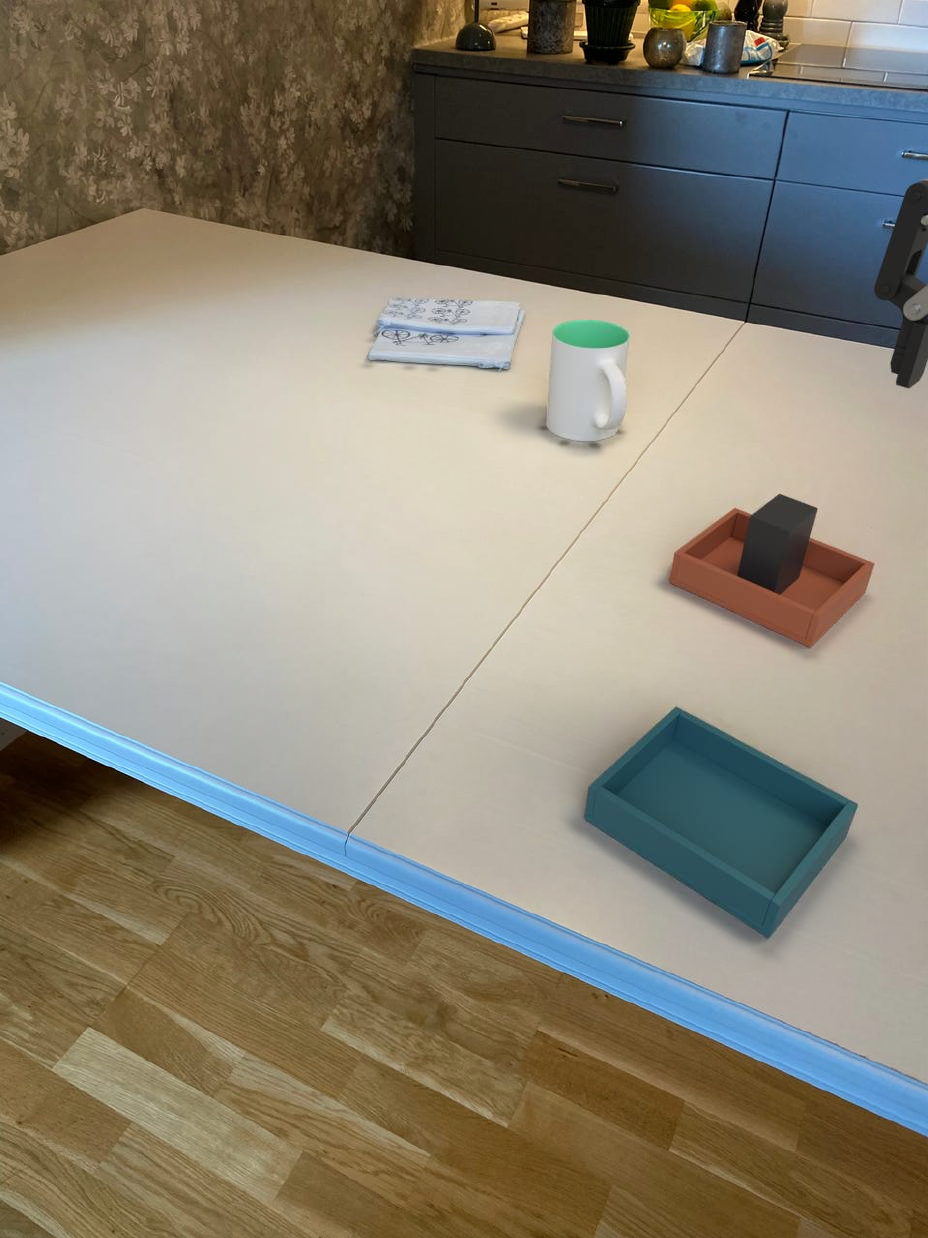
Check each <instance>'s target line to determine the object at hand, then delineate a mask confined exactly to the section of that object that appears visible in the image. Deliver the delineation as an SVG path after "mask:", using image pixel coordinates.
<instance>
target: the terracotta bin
mask: <svg viewBox="0 0 928 1238" xmlns="http://www.w3.org/2000/svg"><path fill="white" fill-rule="evenodd" d="M752 514H753V513H749V512H747V511H744V510H742V509H739V508H737V507H734V508H732V509H731V510H729V511H728V512H727V513H725V514H724V515H723V516H722V517H720V518H719V519H717V520H716V521H715V522H714V523H712V524H710V525H709V526H708V527H706V528H705V529H704V530H703V531H701V532H700V533H699V534H697V535H696V536H694V537H693V538H692V539H691V540H689V541H688V542H687V543H685V544H684V545H682V546H681V547H680V548H679V549H677V550H676V551H674V553H673V558H672V563H671V570H670V574H669V575H670V576H669V581H668V582H669V584H672V585H675V586H676V587H678V588H681V589H682V590H684V591H686V592H689V593H691V594H693V595H695V596H698V597H700V598H701V599H704V600H707V601H708V602H711V603H713V604H715V605H717V606H719V607H721V608H724V609H726V610H728V611H730V612H732V613H735V614H736V615H739V616H741V617H743V618H745V619H747V620H749V621H752V622H753V623H756V624H758V625H760V626H762V627H765V628H767V629H769V630H771V631H773V632H775V633H777V634H780V635H782V636H784V637H786V638H788V639H791V640H793V641H795V642H797V643H799V644H801V645H804V646H806V647H808V648H812V647H813V646H814V645H815V644H816V643H817V642H818V641H819V640H820V639H821V638H822V637H823V636H824V635H825V634H826V633H827V632H828V631H829V630H830V629H831V628H832V627H833V626H834V625H835V624H836V623H837V622H838V621H839V620H840V619H841V618H842V617H844V615H845V614H846V613H847V612H848V611H849V610H850V609H851V608H852V607H853V606H854V605H855V604H856V603H857V602H858V601H859V600H860V599H861V598H862V597H863V596H864V595H865V594H866V591H867V589H868V585H869V582H870V579H871V576H872V574H873V570H874V566H875V563H874V562H873V561H870V560H867V559H865V558H863V557H860V556H857V555H854V554H852V553H850V552H847V551H846V550H842V549H840V548H838V547H834V546H832V545H829V544H828V543H825V542H822V541H819V540H817V539H814V538H813V537H810V539H809V543H808V547H807V550H806V554H805V558H804V561H803V565H802V569H801V573H800V576H799V578H798V579H797V580H796V581H795V582H794V583H793V584H791V585H790V586H789V587H788V588H787V589H786V590H785V591H784V592H783V593H781V594H780V595H779V594H777V593H774V592H772V591H770V590H767V589H765V588H763V587H761V586H758V585H756V584H754V583H752V582H749V581H747V580H745V579H742V578H740V577H738V576H737V574H738V569H739V565H740V560H741V556H742V551H743V547H744V542H745V537H746V533H747V528H748V524H749V519H750V516H751V515H752Z"/></svg>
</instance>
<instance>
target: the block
mask: <svg viewBox="0 0 928 1238" xmlns="http://www.w3.org/2000/svg"><path fill="white" fill-rule="evenodd" d="M818 509H819V508H818V507H817V506H814V505H812V504H809V503H805V502H803V501H801V500H798V499H796V498H792V497H790V496H787V495H784V494H782V493H778V494H777V495H775V496H774V497H773V498H771V499H770V500H769V501H768V502H766V503H765V504H764V505H762V506H761V507H760V508H759V509H757V510H756V511H755V512H753V513H751V514H752V515H751V516H750V519H749V524H748V528H747V533H746V537H745V542H744V547H743V551H742V556H741V560H740V565H739V569H738V574H737V576H738V577H740V578H742V579H745V580H747V581H749V582H752V583H754V584H756V585H758V586H761V587H763V588H765V589H767V590H770V591H772V592H774V593H777V594H779V595H780V594H781V593H783V592H784V591H785V590H786V589H787V588H788V587H789V586H790V585H791V584H793V583H794V582H795V581H796V580H797V579H798V578H799V576H800V573H801V569H802V565H803V561H804V558H805V554H806V550H807V547H808V543H809V539H810V538H811V535H812V531H813V528H814V525H815V524H814V523H815V520H816V516H817V513H818Z"/></svg>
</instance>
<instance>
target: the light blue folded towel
mask: <svg viewBox="0 0 928 1238" xmlns="http://www.w3.org/2000/svg"><path fill="white" fill-rule="evenodd" d="M525 318H526V310H525V309H521V302H520V301H504V300H470V299H468V300H466V299H446V298H404V297H390V298H389V300H388V302H387V305H386V306H385V307H384V309H383V311H382V312H381V314H380V315H379V317H378V318H376V320H375V321H376V327H378V329H377V330H376V331H375V332H374V333H373V334H372V336H374V337H375V336H377V337H376V339H375V341H374V342H373V344H372V346H371V348H370V349H369V351H368V353H367V354H368V356H367V357H368V361H377V360H378V361H390V362H391V361H392V362H401V363H402V362H403V363H416V364H417V363H418V364H435V365H436V364H437V365H452V366H453V365H455V366H471V367H472V366H473V367H478V368H479V369H486V368H487V369H488V368H489V369H490V368H491V369H492V368H499V369H498V370H499V372H501V370H502V369H503V370H510V369H511V364H512V358H513V353H514V348H515V344H516V343H517V339H518V337H519V334H520V332H521V328H522V325H523V322H524V320H525Z"/></svg>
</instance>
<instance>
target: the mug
mask: <svg viewBox="0 0 928 1238" xmlns="http://www.w3.org/2000/svg"><path fill="white" fill-rule="evenodd" d="M630 339H631V334H630V332H629V331H628V330H627V329H626V328H624V327H623V326H622V325H618V324H616V323H613V322H610V321H604V320H598V319H573V320H569V321H565V322H562V323H559V324H558V325H556V326H554V327H553V329H552V333H551V348H550V362H549V363H550V364H549V374H548V375H549V377H548V389H547V390H548V391H547V407H546V418H545V419H546V420H545V421H546V422H545V425H546V428H547V429H548V430H549V431H550V432H551V433H553V434H554V435H556V436H558V437H560V438H563V439H566V440H570V441H576V442H598V441H604V440H607V439H609V438H612V437H613V436H614V435H616V434H617V433H618V432H619V429H620V425H621V424H623V423H622V422H623V421H624V418H625V414H626V409H627V402H628V401H627V400H628V397H627V396H628V395H627V394H628V391H627V384H626V373H627V372H626V371H627V363H628V362H627V361H628V356H629V355H628V354H629V346H630Z"/></svg>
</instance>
